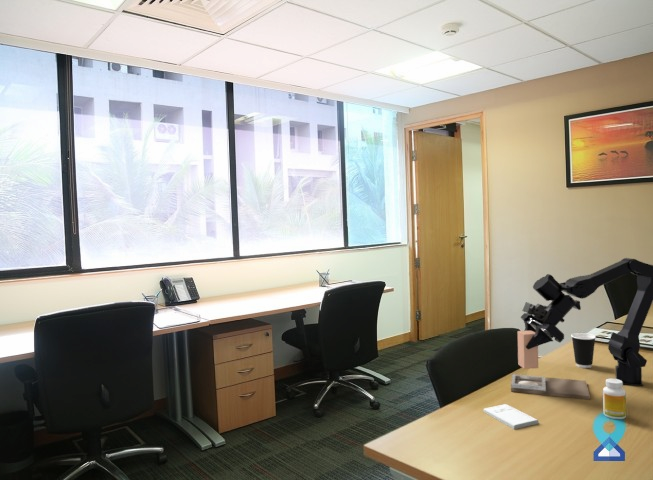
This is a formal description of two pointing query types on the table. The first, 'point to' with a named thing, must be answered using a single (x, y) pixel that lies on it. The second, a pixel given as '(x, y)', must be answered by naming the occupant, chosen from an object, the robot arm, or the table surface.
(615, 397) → the supplement bottle
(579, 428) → the table surface
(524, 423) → the external hard drive
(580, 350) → the dixie cup
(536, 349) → the terracotta pin
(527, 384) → the board
